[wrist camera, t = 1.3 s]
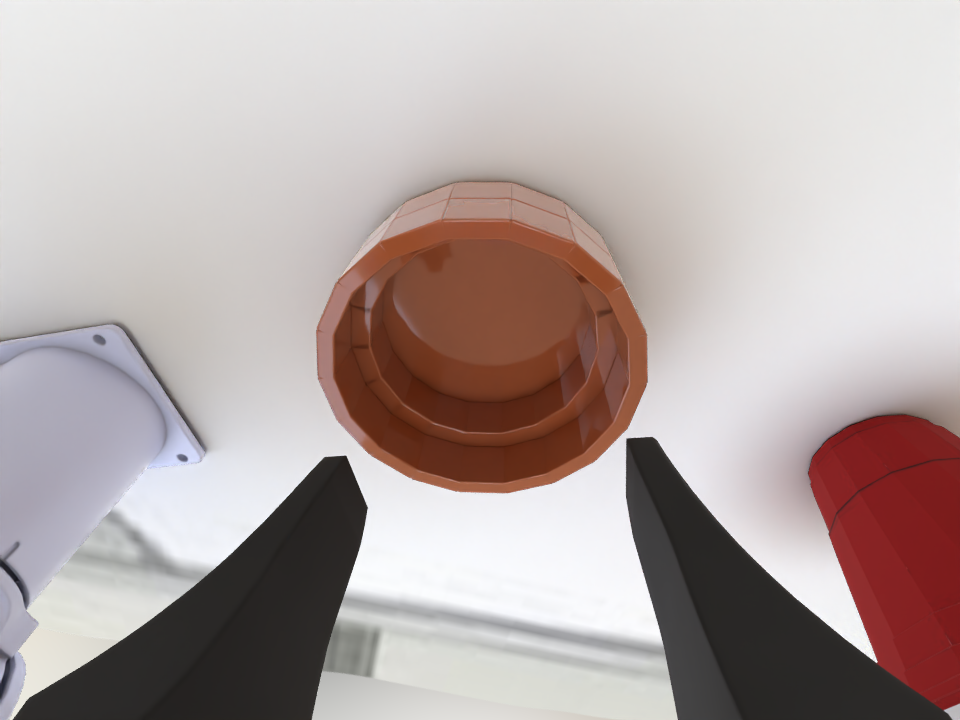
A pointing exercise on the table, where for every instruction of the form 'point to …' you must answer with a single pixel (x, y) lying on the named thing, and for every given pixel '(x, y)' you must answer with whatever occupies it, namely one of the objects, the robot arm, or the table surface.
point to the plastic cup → (899, 544)
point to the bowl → (483, 341)
